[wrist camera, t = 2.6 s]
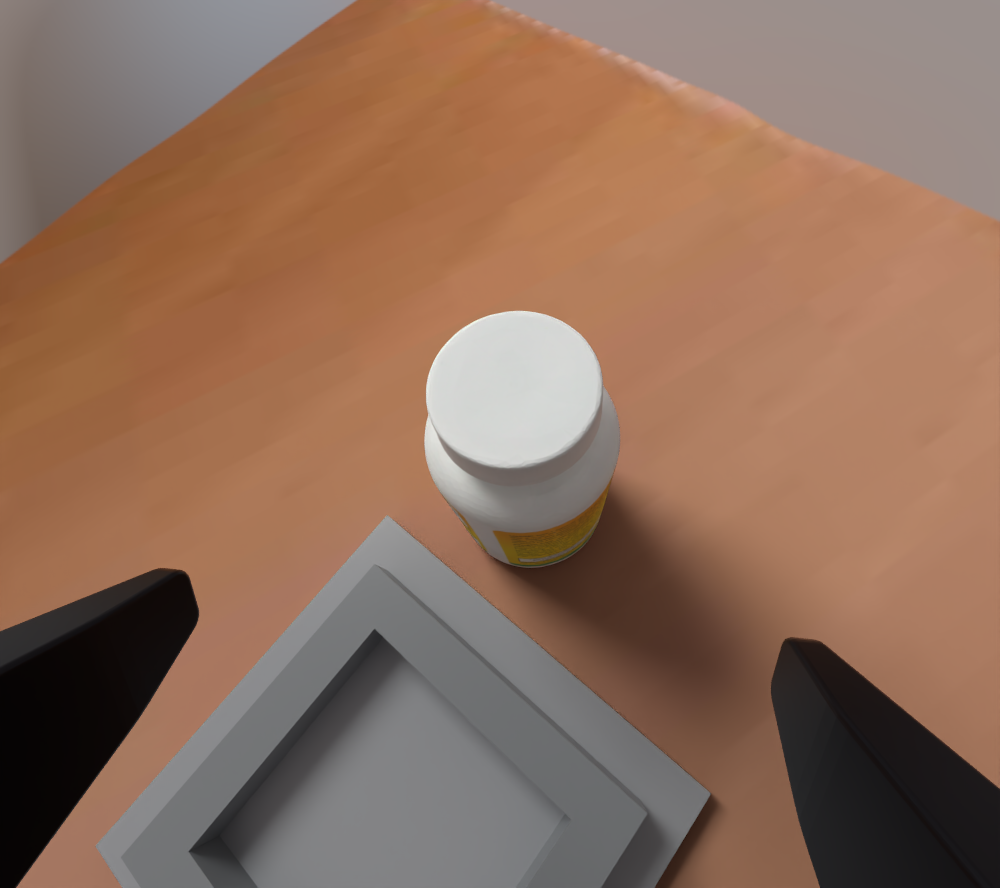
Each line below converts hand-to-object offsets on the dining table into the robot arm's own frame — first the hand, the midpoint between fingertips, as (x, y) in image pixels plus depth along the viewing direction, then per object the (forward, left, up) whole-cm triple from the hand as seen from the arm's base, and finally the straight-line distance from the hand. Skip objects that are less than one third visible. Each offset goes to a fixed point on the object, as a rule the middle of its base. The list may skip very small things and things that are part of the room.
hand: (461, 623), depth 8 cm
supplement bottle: (+4, +3, -12) cm, 13 cm away
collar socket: (-7, 0, -12) cm, 13 cm away
